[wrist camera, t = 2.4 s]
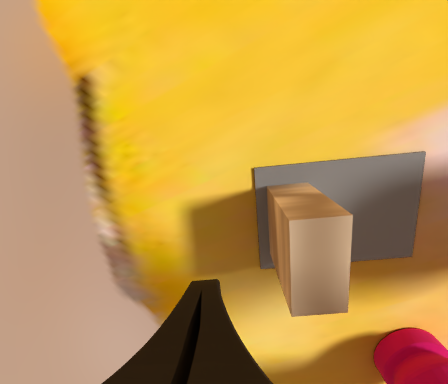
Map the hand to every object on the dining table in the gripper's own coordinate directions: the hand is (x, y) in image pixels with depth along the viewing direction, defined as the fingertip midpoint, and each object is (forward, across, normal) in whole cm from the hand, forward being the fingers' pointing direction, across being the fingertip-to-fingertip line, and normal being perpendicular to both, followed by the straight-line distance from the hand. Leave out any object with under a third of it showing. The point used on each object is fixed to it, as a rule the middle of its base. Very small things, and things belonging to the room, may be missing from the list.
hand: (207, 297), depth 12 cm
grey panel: (+9, -10, 0) cm, 13 cm away
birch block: (+8, -6, 0) cm, 10 cm away
